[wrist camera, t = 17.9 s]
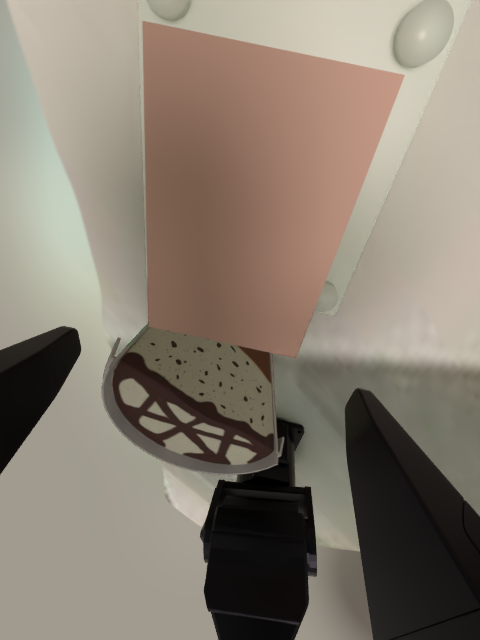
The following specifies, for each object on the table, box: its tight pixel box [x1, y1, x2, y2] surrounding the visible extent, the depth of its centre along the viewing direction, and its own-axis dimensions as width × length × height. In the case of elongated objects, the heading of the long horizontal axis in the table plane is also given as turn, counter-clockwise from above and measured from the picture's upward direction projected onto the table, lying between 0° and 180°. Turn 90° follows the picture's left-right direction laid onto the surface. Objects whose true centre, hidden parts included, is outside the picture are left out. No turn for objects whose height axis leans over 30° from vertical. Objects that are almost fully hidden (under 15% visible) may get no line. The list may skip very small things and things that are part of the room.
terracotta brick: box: [142, 21, 405, 358], centre depth 10 cm, size 8×6×5 cm
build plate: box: [137, 0, 472, 316], centre depth 17 cm, size 16×14×2 cm
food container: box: [102, 324, 284, 475], centre depth 22 cm, size 12×6×10 cm, turn 52°
